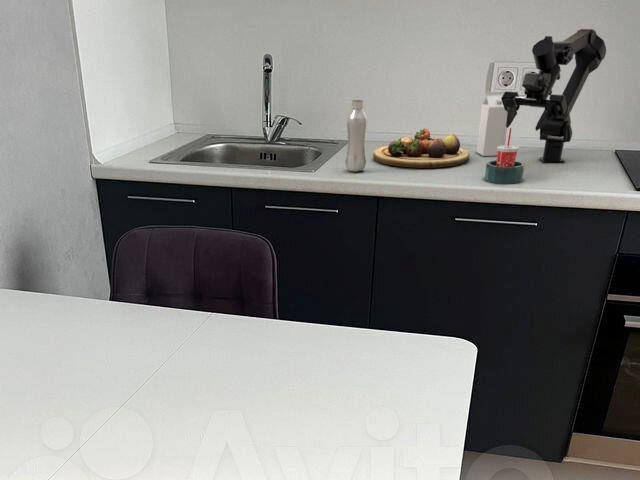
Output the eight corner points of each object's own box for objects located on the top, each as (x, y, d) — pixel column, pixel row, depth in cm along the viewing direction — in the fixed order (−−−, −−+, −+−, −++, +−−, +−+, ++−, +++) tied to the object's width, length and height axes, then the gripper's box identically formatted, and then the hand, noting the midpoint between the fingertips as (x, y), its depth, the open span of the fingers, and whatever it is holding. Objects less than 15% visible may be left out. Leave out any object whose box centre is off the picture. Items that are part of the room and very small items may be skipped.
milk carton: (476, 152, 252) (483, 90, 241) (496, 151, 253) (504, 90, 242) (482, 156, 246) (490, 93, 236) (503, 155, 247) (512, 92, 236)
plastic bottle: (367, 169, 233) (370, 99, 222) (362, 173, 228) (365, 102, 217) (348, 168, 235) (350, 99, 224) (342, 172, 230) (344, 102, 219)
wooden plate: (390, 147, 262) (392, 122, 258) (479, 153, 251) (482, 127, 246) (359, 165, 239) (360, 137, 234) (455, 172, 227) (458, 143, 222)
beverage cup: (518, 179, 217) (526, 128, 209) (504, 183, 214) (511, 130, 206) (502, 176, 221) (509, 125, 213) (488, 179, 218) (495, 128, 210)
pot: (525, 176, 221) (528, 160, 218) (516, 186, 210) (519, 169, 208) (490, 173, 225) (492, 157, 222) (480, 183, 214) (482, 167, 212)
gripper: (509, 60, 213) (485, 106, 213) (571, 62, 203) (546, 111, 202) (517, 87, 223) (494, 132, 222) (576, 91, 212) (553, 138, 212)
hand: (521, 128), depth 214 cm, fingers open, 9 cm apart
